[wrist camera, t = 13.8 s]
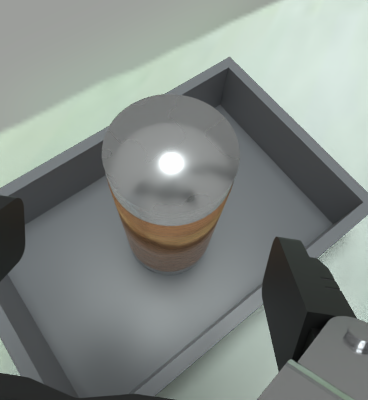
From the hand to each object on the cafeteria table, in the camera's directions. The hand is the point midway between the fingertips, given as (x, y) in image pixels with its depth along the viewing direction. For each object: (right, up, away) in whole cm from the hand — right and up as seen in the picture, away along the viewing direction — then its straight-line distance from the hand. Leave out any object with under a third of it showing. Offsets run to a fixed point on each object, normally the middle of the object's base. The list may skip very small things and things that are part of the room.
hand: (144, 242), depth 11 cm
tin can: (0, -1, +16) cm, 16 cm away
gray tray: (0, -2, +17) cm, 17 cm away
